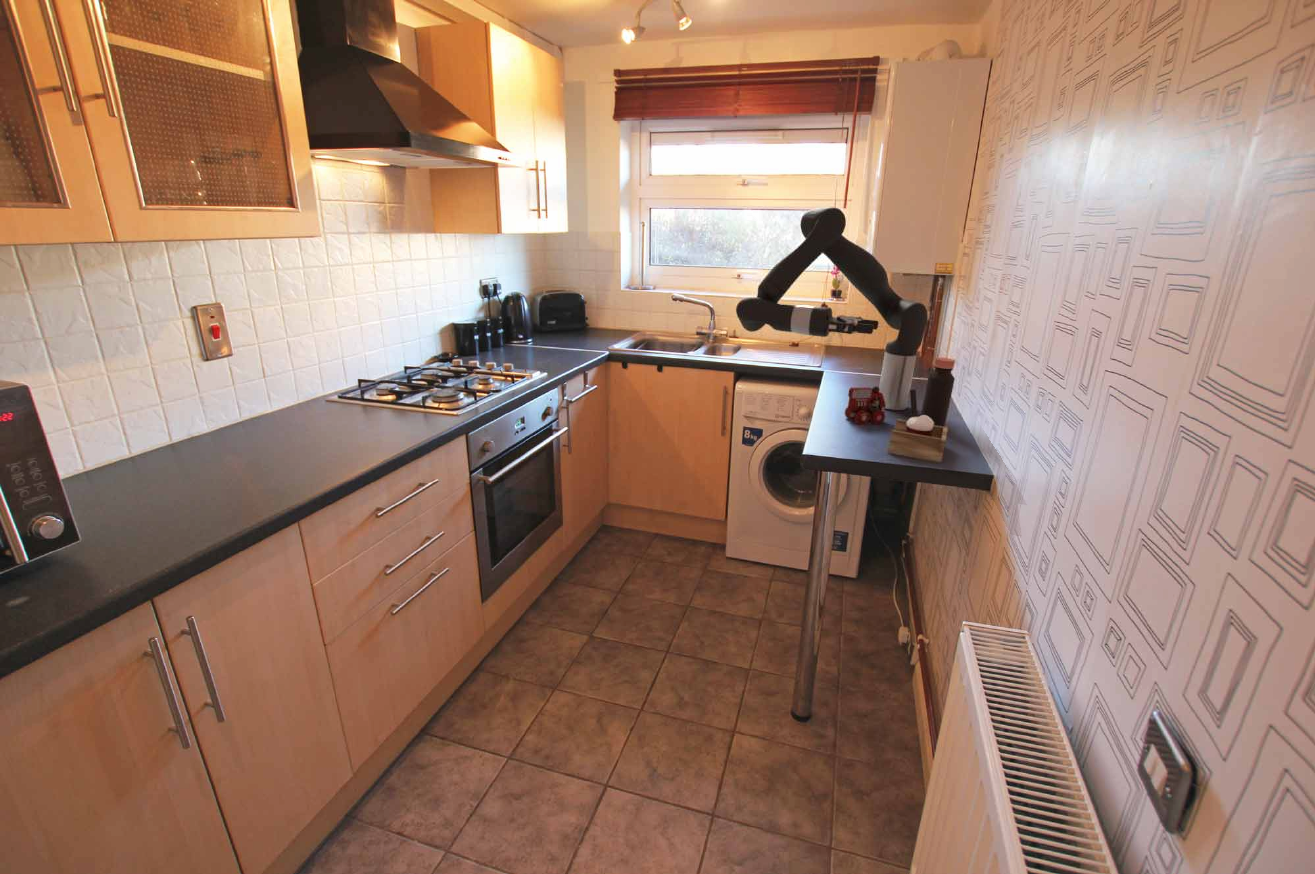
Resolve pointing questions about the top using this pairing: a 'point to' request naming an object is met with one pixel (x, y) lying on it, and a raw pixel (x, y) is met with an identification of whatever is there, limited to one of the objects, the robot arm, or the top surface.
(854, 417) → the toy fire truck
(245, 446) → the top surface
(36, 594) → the top surface
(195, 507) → the top surface
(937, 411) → the bottle
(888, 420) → the top surface
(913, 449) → the wooden tray
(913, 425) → the cocoa
